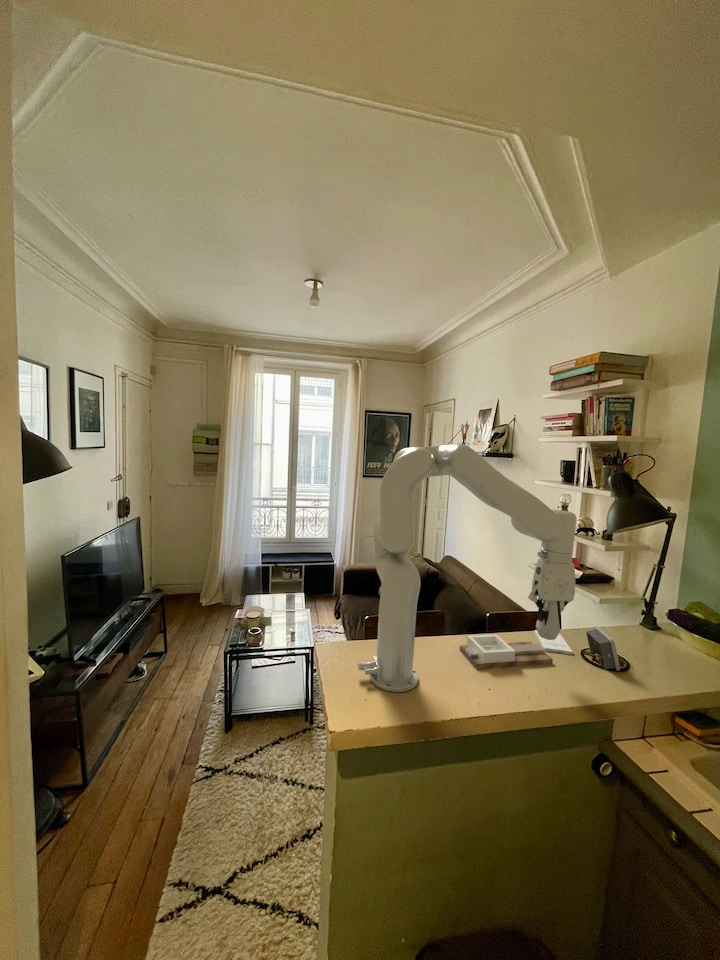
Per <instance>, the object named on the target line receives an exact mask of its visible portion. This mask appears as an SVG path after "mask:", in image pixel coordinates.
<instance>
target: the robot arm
mask: <svg viewBox="0 0 720 960" xmlns="http://www.w3.org/2000/svg"><path fill="white" fill-rule="evenodd" d="M440 476H450V477H452V478H453V479H454V480H455V481H457V482H458V483H459V484H460V485H462V486H463V487H465V489H467V490H468V491H469V492H470V493H472V494H473V495H474V496H475V497H476V498H477V499H478V500H480V501H481V502H483V504H486V505H487V506H489V507H491V508H493V509H495V510H497V511H499V512H501V513H502V514H505V515H507V516H508V517H510V522H511V526H513V528H514V529H515V530H516V531H517V532H519V533H520V534H522V535H525V536H528V537H530V538H533V539H535V540H538V541H539V542H541V545H540V551H538V552H537V557H539V559H537V562H536V565H535V568H534V572H533V576H532V577H533V578H532V581H531V591H530V593H529V594H528V597H527V598H528V600H529V601H531V602H533V603H534V605H536V607H537V608H538V609H537V619H536V620H539V621H543V620H544V621H545V626H546V623H547V620H548V615H549V612H548V611H547V608H548V603H549V601H557V606H558V617H559V625H560V624H561V616H562V612H563V611H564V610H565V607H566V606H567V605H568V604H569V603H571V602H572V601H574V599H575V595H576V594H575V592H576V568H575V563H573V553H574V545H575V536H576V529H577V516H576V515H577V514H575V513H573V512H572V511H568V510H562V509H551V508H550V507H549V506H548V505H546V503H544V502H543V501H542V500H541V499H540V498H538V497H537V496H535V495H534V494H532V493H531V492H529V491H527V490H526V489H524V488H523V487H521V486H520V485H519V484H517V483H515V482H514V481H513V480H511V479H509V478H507V477H506V476H505V475H503V474H502V473H501V472H500V471H499V470H498V469H497V468H495V467H494V466H493V465H492V464H491V463H490V462H489V461H487V460H486V459H485V458H483V457H482V456H481V454H479V453H478V452H477V451H475V450H474V449H473V448H471V447H470V446H469V445H466V444H463V443H451V444H450V443H449V444H443V445H442V444H441V445H434V446H432V445H431V446H412V447H405V448H402V449H400V450H398V451H397V453H396V454H395V456H394V457H393V461H392V463H391V464H390V466H389V467H388V468H387V469H386V472H385V473H384V475H383V477H382V479H381V484H380V488H379V516H378V517H377V519H376V520H375V522H374V527H373V538H374V539H373V540H374V542H373V543H374V557H375V570H376V572H377V575H378V577H379V580H380V582H381V591H380V598H379V605H378V620H377V621H378V623H377V638H376V639H377V644H376V655H373V656H372V657H373V658H372V660H369V661H361V662H357V669H358V671H364V675H365V676H367V675H369V679H370V680H371V682H372V683H373V684H374V685H375V686H376V687H378V688H379V689H381V690H385V691H387V692H393V693H404V692H408V691H410V690H412V689H414V688H416V686H417V685H418V683H419V673H418V672H417V670H416V669H415V668H414V653H415V639H416V637H415V636H416V622H417V621H416V620H417V609H418V608H417V606H418V600H419V595H420V589H421V576H420V573H419V571H418V568H417V566H416V564H414V562H413V561H412V560H411V559H410V558H409V557H410V556H409V555H410V554H409V551H410V550H411V549H412V548H413V546H414V544H415V541H416V529H415V527H416V526H415V513H414V510H415V509H414V507H415V505H414V503H415V502H414V500H415V492H416V491H417V487H418V486H419V485H420V484H421V483H422V482H423V481H424V480H425V479H427V478H429V477H431V478H432V477H440Z"/></svg>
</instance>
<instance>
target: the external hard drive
mask: <svg viewBox="0 0 720 960" xmlns="http://www.w3.org/2000/svg"><path fill="white" fill-rule="evenodd" d="M534 632H535V633H534V635H535V637H536V638H537V640H538V641H539V643H541V644H540V646H541V647H542V648H544V649H545V652H550V653H551V652H552V653H558V654H559V653H560V654H564V655H571V656H574V651H573V650H572V648H571V647H570V646H569V644H568V643H567V641H566V640H565V638H564V637H563V635H562V634H561V633H560V632H559V634H558V636H557V637H556V639H555V640H548V639H545V638H542V637H541V636H540V635H539V634H538V632H537V629H535V630H534Z"/></svg>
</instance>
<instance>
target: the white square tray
mask: <svg viewBox="0 0 720 960" xmlns="http://www.w3.org/2000/svg"><path fill="white" fill-rule="evenodd" d="M466 638H467V640H466V645H467V646H468V647H469V648H473V649H474V650H475V651H476V652H477V653H478V658H479V659H480V660H481V661H482V662H483V663H494V662H509V661H514V660H515V650H514V649H513V648H511V647H510V646H509V645H508V644H507V643H508V642H506V641H505V640H503V638H501V637H500V636H499V635H498V634H479V635H478V634H477V635H467V637H466ZM491 646H492V648H491ZM496 646H497V647H496ZM485 647H487V649H488V647H489V649H490V650H489V649H488V650H489V651H488V650H487V651H486V650H484V649H483V648H485ZM497 648H498V649H497ZM495 649H496V650H495ZM500 649H501V650H500Z"/></svg>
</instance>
